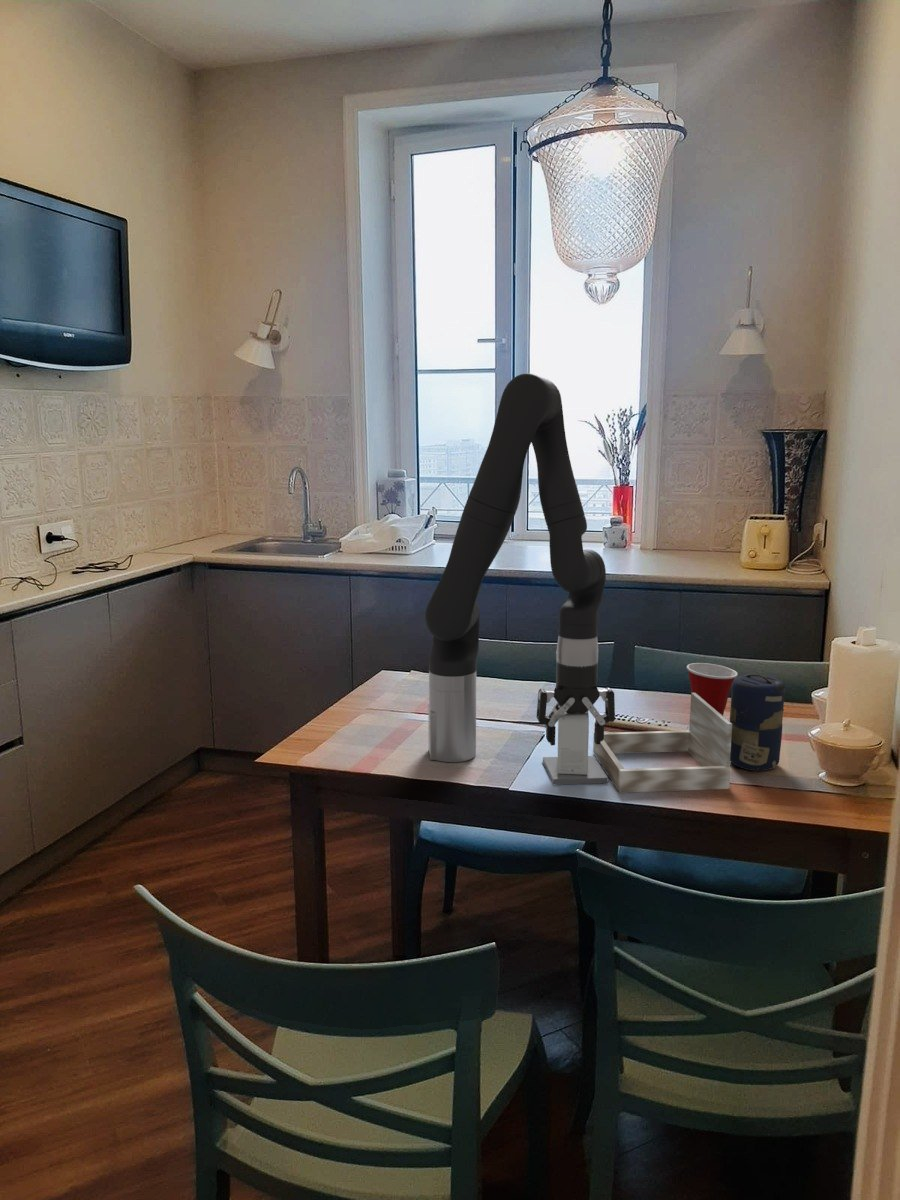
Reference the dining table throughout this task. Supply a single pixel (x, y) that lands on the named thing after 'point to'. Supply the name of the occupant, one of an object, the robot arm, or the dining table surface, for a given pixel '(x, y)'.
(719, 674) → the plastic cup
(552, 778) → the slate tile
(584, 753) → the small box
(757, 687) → the canister
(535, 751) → the dining table surface
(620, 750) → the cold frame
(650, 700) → the dining table surface
